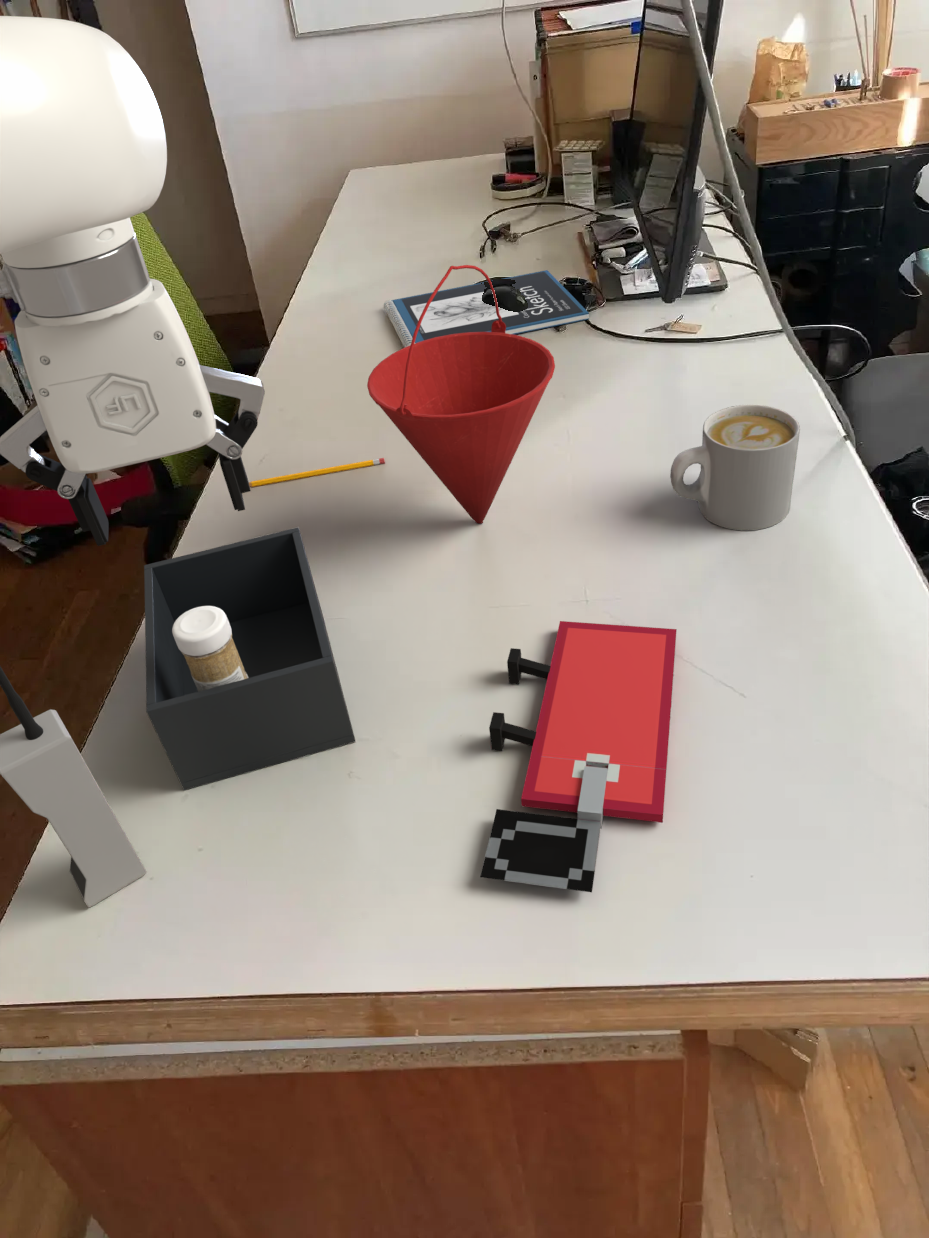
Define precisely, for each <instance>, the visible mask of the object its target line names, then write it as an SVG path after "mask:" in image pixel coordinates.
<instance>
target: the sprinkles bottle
mask: <svg viewBox="0 0 929 1238" xmlns="http://www.w3.org/2000/svg"><path fill="white" fill-rule="evenodd" d="M172 633H173V636H174V639H175V641H176V644H177V646H178V648H179V650H180V651H181V652H182V654H183V655H184V657H185V659H186V662H187V664H188V666H189V668H190V671H191V675H192V678H193V680H194V682H195V685H196V687H197V690H198V692H199V691H202V690H206V689H210V688H214V687H217V686H221V685H225V684H228V683H232V682H236V681H240V680H243V679H247V678H248V676H247V673H246V672H245V670H244V667H243V664H242V662H241V659H240V657H239V654H238V651H237V649H236V647H235V644H234V641H233V639H232V630H231V626H230V624H229V621H228V619H227V616H226V614H225V613H224V611H223V610H221V609H220V608H217V607H214V606H201V607H196V608H193V609H191V610H189V611H187V612H185V613H183V614H182V615H181V616H180V617H178V619H177V620H176V621H175V623H174V624H173V628H172Z"/></svg>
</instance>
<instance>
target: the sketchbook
mask: <svg viewBox="0 0 929 1238" xmlns="http://www.w3.org/2000/svg"><path fill="white" fill-rule="evenodd" d="M502 279H511V280H515V282H516V283H515V284H512V286H513V287H515V289H519V291H520V292H521V295H523V296H524V297H525V300H526V301H527V303H528V308H527V309H525V310H523V311H520V312H513V311H508V310H505V309H503V308H500V307H498V309H499V314H500V316H501V318H502V322H504V323H505V325H506V331H505V333H507V334H513V335H519V334H523V333H529V332H533V331H538V330H542V329H548V328H553V327H560V326H563V325H569V324H572V323H577V322H583V321H588V320H590V312H589V311H588V310H587V309H586V308H585V307H584V306H583V305H582V304H581V303H580V302H579V301H578V300H577V299H576V298H575V297H574V296H573V295H572V294H571V293H570V292H569V290H568V289H566V288H565V286H564V285H562V284H561V282H559V280H558V279H557V278H556V277H555V276H554V275H553V274H551V272H550V271H549V270H548V269H546V270H545V269H544V270H541V271H535V272H529V273H525V274H520V275H513V276H508V277H505V278H502ZM484 282H485V281H483V282H478V283H474V284H473V283H472V284H467V285H463V286H457V287H453V288H452V287H451V288H446V289H442V290H438V291H437V293H436V295H435V296H434V298H433V300H432V301H431V303H430V305H429V307H428V309H427V311H426V313H425V315H424V317H423V319H422V322H421V325H420V327H419V330H418V333H417V336H416V339H415V343H418V342H421V341H424V340H428V339H431V338H435V337H440V336H445V335H450V334H458V333H467V332H491V330H492V323H493V322H494V321H497V320H499V318H498V317H497V314H496V307H495V306H492V305H489V304H486V303H484V302H483V301H482V295H483V293H484V289H486V288H487V287H485V285H484ZM481 283H482V284H481ZM433 292H434V291H432V292H431V291H430V292H427V293H422V294H417V295H411V296H406V297H401V298H395V299H389V300H388V299H387V300H385V301H384V303H383V309H384V310H385V313H386V314H387V316H388V319H389V320H390V322H391V325H392V326H393V328H394V330H395V332H396V334H397V336H398V338H399V340H400V342H401V344H402V346H403V348H405V347H407V346H410V345H411V342H412V338H413V335H414V332H415V329H416V326H417V324H418V321H419V318H420V316H421V314H422V312H423V310H424V308H425V305H426V303H427V302H428V300H429V298H430V297H431V295H432V293H433ZM500 328H501V327H500ZM415 343H414V344H415Z"/></svg>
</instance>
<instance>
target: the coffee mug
mask: <svg viewBox="0 0 929 1238" xmlns="http://www.w3.org/2000/svg"><path fill="white" fill-rule="evenodd" d="M800 433H801V426H800V424H799V422H798V419H796V418H795V416H793V415H792V414H791V413H789V412H787V411H785V410H782V409H780V408H777V407H774V406H770V405H769V406H768V405H764V404H763V405H762V404H739V405H732V406H729V407H728V406H727V407H724V408H722V409H719V410H716V411H714V412H713V413H712V414H710V415H709V416H708V417H707V418H706V419H705V420H704V422H703V426H702V435H701V436H702V437H701V439H702V441H701V445H699V446H695V447H690V448H688V449H684V450H683V451H680V452H679V453H678V454H677V455H676V456H675V457H674V459H673V461H672V464H671V466H670V473H669V474H670V475H669V479H670V484H671V486H672V489H673V491H674V492H675V493H676V495H677V496H679V497H681V498H683V499H687V500H692V501H697V502H698V509H699V511H700V513H701V515H702V516H703V517H704V518H705V519H706V520H708V521H709V522H711V523H712V524H714V525H716V526H719V527H722V528H725V529H729V530H733V531H734V530H736V531H758V530H764V529H768V528H771V527H773V526H775V525H776V526H777V524H779V523H781V522H783V520H785V518H787V516H788V515H789V512H790V509H791V502H792V494H793V486H794V480H795V472H796V466H797V465H796V463H797V456H798V449H799V442H800V441H799V440H800ZM695 464H698V465H700V472H699V474H698V477H697V478H696V480H695V481H693V482H692V483H690V484H687V483H685V482H684V475H685V474H686V470H687V469H688V468H689V467H691V466H692V465H695Z"/></svg>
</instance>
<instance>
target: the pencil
mask: <svg viewBox="0 0 929 1238" xmlns="http://www.w3.org/2000/svg"><path fill="white" fill-rule="evenodd" d="M385 464H386V461H385V457H381V458H375V459H374V458H373V459H369V460H362V461H358V462H351V463H347V464H340V465H336V466H330V467H325V468H318V469H313V470H308V471H307V470H306V471H302V472H296V473H290V474H285V475H279V476H275V477H269V478H263V479H258V480H257V479H256V480H252V481H251V480H250V481H248V482H249V486H250V488H256V487H262V486H268V485H274V484H279V483H284V482H289V481H296V480H301V479H306V478H312V477H318V476H322V475H323V476H325V475H329V474H334V473H341V472H345V471H346V472H347V471H351V470H352V471H353V470H356V469H361V468H367V467H374V466H379V465H385Z"/></svg>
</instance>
